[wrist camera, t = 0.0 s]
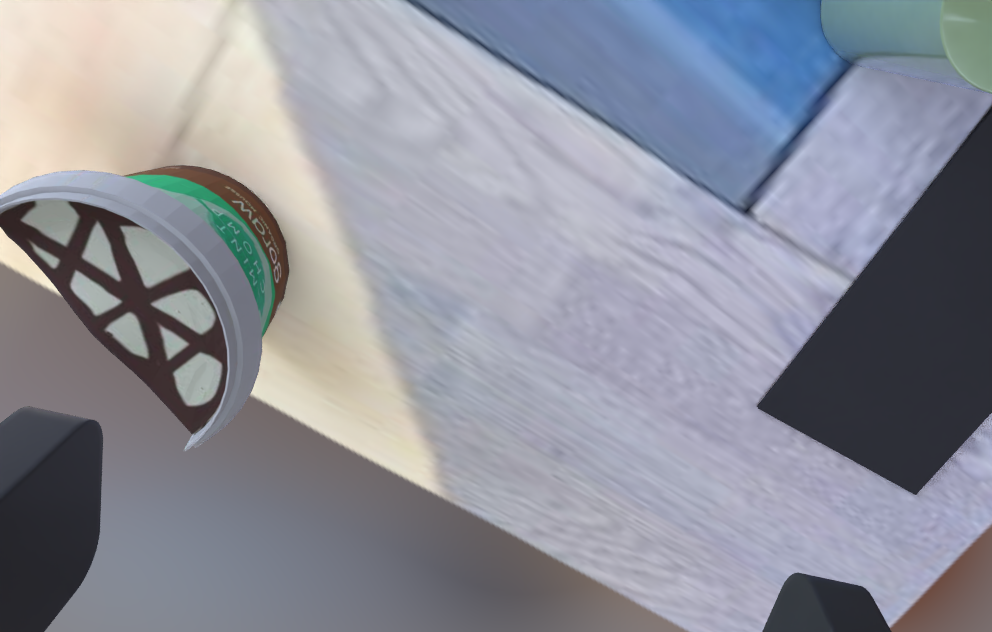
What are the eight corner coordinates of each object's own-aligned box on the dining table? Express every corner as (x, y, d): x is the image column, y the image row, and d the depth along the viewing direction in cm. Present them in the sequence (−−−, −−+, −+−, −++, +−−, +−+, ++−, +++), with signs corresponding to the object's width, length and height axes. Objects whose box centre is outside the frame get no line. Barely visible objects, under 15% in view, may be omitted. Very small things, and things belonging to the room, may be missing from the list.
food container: (365, 294, 40) (311, 385, 30) (272, 357, 41) (193, 461, 32) (197, 82, 36) (78, 110, 27) (103, 159, 38) (-41, 211, 28)
